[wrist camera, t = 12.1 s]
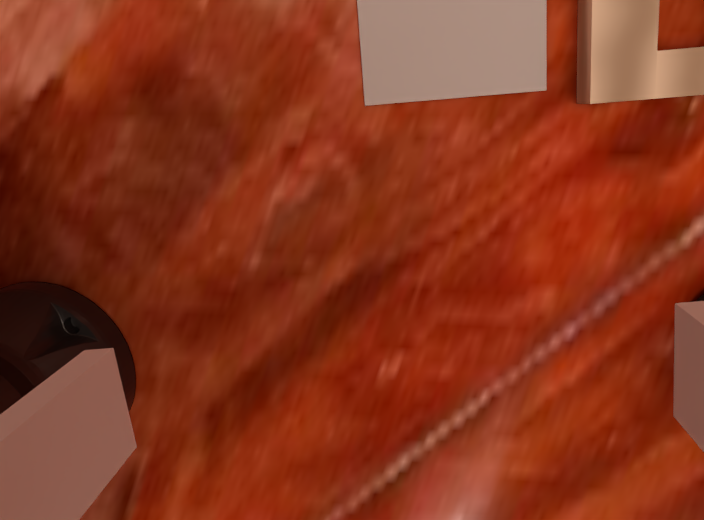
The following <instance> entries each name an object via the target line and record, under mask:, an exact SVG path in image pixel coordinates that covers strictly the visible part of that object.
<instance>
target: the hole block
mask: <svg viewBox="0 0 704 520" xmlns="http://www.w3.org/2000/svg"><path fill="white" fill-rule="evenodd" d="M658 23H659V0H578V30H577V103H578V104H594V103H607V102H619V101H632V100H644V99H656V98H669V97H681V96H694V95H704V47H695V48H684V49H673V50H662V51H657V45H658Z"/></svg>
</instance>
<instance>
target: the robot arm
mask: <svg viewBox="0 0 704 520" xmlns="http://www.w3.org/2000/svg"><path fill="white" fill-rule="evenodd" d="M134 394H135V369H134V364H133V360H132V357H131V353H130V351H129V348H128V346H127V344H126V342H125V340H124V338H123V336H122V334H121V333H120V331H119V330H118V328H117V327H116V326H115V324H114V323H113V322H112V320H111V319H110V318H109V317H108V316H107V315H106V314H105V313H104V312H103V311H102V310H101V309H100V308H99V307H97V306H96V305H95V304H94V303H92V302H91V301H90V300H88V299H87V298H85V297H83V296H82V295H80V294H78V293H76V292H74V291H72V290H70V289H67V288H64V287H61V286H58V285H54V284H50V283H43V282H24V283H18V284H14V285H10V286H7V287H5V288H2V289H0V520H79V519H80V518H81V517H82V516H83V514H84V513H85V512H86V511H87V509H88V508H89V507H90V505H91V504H92V503H93V502H94V500H95V499H96V498H97V497H98V495H99V494H100V493H101V492H102V490H103V489H104V488H105V486H106V485H107V484H108V483H109V481H110V480H111V479H112V478H113V476H114V475H115V474H116V473H117V471H118V470H119V469H120V468H121V466H122V465H123V464H124V462H125V461H126V460H127V459H128V457H129V456H130V455H131V454H132V452H133V451H134V450H135V449H136V447H137V446H136V441H135V437H134V433H133V429H132V424H131V420H130V416H129V411H130V409H131V406H132V403H133V399H134ZM673 416H674V417H675V418H676V420H677V421H678V422H679V423H680V424H681V425H682V427H683V428H684V429H685V430H686V431H687V433H688V434H689V435H690V436H691V437H692V439H693V440H694V441H695V442H696V443H697V445H698V446H699V447H700V448H701V449H702V451H703V452H704V301H696V302H683V303H675V339H674V415H673Z"/></svg>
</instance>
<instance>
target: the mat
mask: <svg viewBox="0 0 704 520" xmlns="http://www.w3.org/2000/svg"><path fill="white" fill-rule="evenodd" d="M357 6H358V20H359V33H360V47H361V60H362V74H363V87H364V101H365V106H367V105H379V104H391V103H403V102H415V101H426V100H438V99H450V98H462V97H474V96H486V95H497V94H509V93H521V92H533V91H545V90H546V0H357Z"/></svg>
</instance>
